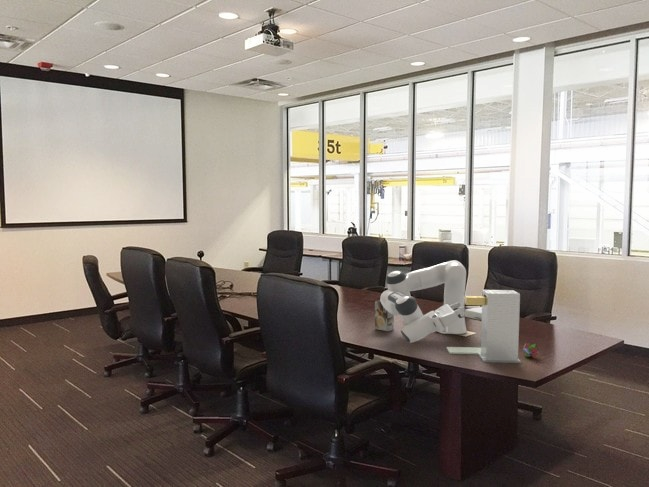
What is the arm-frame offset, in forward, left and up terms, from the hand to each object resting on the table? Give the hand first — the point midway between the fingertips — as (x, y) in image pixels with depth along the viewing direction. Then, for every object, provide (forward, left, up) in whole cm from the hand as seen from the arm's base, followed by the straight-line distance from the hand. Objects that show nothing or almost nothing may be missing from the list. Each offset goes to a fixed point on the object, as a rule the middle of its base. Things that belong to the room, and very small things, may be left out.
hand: (461, 305), depth 238 cm
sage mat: (-4, +13, -24) cm, 28 cm away
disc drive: (-48, +85, -25) cm, 100 cm away
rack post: (+11, +14, -24) cm, 30 cm away
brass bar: (+7, +9, +1) cm, 11 cm away
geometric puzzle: (+18, +28, -25) cm, 41 cm away
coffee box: (-61, +10, -25) cm, 67 cm away
